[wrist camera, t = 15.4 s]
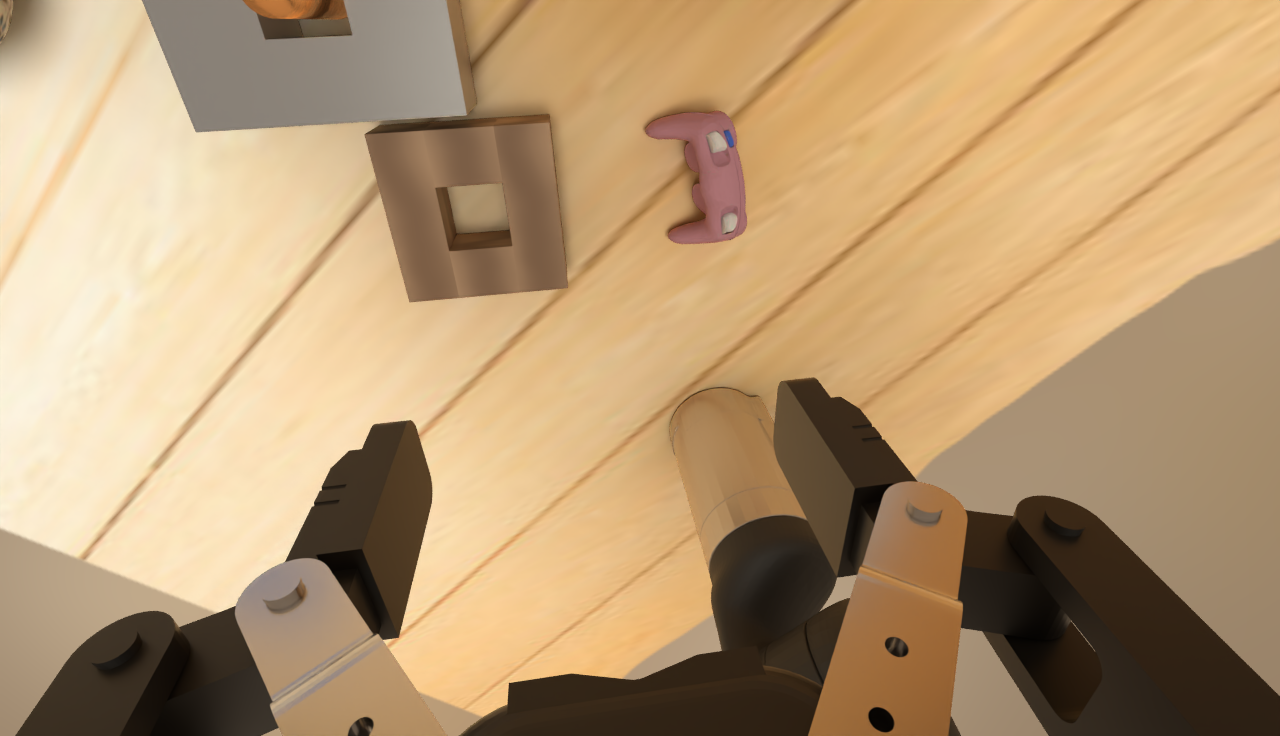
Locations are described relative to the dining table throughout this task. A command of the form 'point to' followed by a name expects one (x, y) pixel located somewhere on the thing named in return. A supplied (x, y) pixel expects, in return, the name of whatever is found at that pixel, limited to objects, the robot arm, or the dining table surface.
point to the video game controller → (708, 174)
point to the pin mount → (422, 217)
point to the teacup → (5, 16)
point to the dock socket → (315, 64)
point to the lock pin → (299, 9)
